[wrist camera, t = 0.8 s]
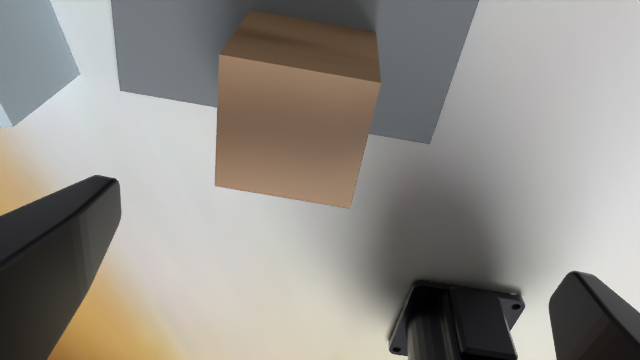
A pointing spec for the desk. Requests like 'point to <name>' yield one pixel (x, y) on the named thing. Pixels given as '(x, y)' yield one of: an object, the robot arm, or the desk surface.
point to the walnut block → (295, 108)
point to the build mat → (310, 4)
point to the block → (31, 58)
